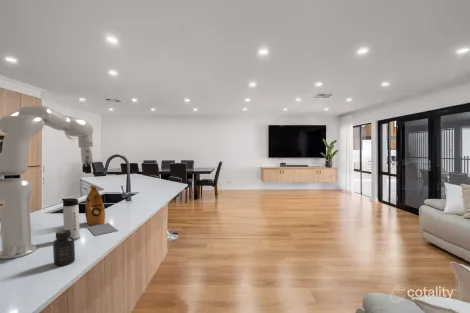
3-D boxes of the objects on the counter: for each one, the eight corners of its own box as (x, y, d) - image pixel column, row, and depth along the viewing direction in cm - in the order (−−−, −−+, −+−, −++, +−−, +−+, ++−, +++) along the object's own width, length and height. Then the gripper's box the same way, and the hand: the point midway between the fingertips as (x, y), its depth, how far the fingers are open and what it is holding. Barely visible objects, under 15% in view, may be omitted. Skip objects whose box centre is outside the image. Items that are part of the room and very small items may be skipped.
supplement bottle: (79, 258, 101) (77, 228, 101) (68, 266, 94) (67, 234, 94) (61, 259, 101) (60, 229, 101) (49, 267, 94) (47, 234, 94)
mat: (118, 231, 135) (118, 230, 135) (94, 235, 128) (94, 235, 128) (108, 223, 150) (108, 223, 150) (87, 227, 143) (87, 227, 143)
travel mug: (65, 238, 126) (63, 197, 125) (80, 236, 128) (79, 196, 127) (61, 242, 120) (60, 200, 119) (78, 240, 122) (76, 198, 122)
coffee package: (86, 227, 143) (85, 188, 143) (85, 222, 153) (83, 185, 153) (106, 224, 149) (105, 186, 148) (103, 219, 159) (102, 184, 158)
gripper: (95, 144, 153) (96, 173, 154) (90, 145, 166) (91, 171, 167) (80, 144, 148) (82, 174, 149) (76, 145, 162) (77, 172, 162)
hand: (86, 172), depth 158 cm, fingers open, 9 cm apart
